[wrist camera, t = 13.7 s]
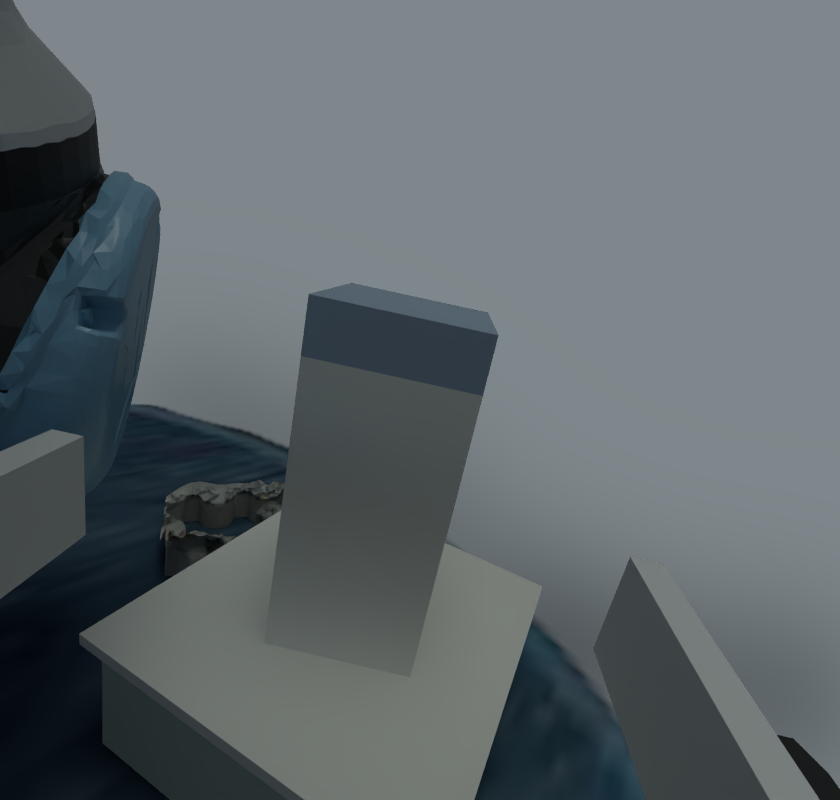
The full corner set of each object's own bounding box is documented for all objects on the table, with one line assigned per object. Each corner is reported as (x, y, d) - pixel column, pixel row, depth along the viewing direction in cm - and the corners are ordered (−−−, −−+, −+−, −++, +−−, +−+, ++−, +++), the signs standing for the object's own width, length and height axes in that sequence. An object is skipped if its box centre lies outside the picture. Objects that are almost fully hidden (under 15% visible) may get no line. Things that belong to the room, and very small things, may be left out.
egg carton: (155, 595, 28) (156, 537, 27) (164, 521, 34) (166, 472, 33) (331, 574, 32) (340, 523, 31) (311, 513, 39) (317, 469, 38)
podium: (82, 747, 19) (79, 633, 18) (308, 561, 33) (319, 486, 31) (399, 1020, 14) (441, 901, 12) (514, 669, 28) (542, 586, 26)
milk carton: (264, 643, 19) (308, 293, 15) (309, 552, 25) (351, 283, 20) (410, 677, 19) (498, 335, 14) (422, 578, 24) (487, 312, 20)
